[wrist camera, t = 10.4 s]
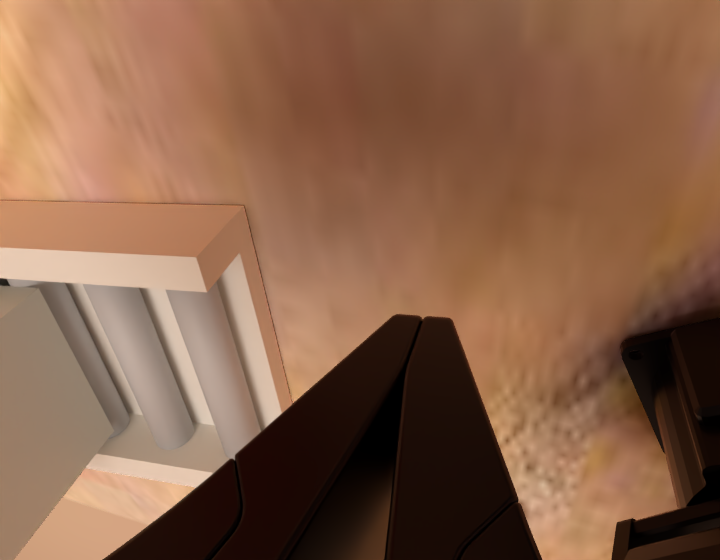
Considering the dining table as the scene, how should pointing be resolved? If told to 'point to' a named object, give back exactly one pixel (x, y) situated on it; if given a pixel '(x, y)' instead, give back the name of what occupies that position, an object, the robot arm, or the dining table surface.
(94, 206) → the roller bed
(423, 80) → the dining table surface
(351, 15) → the dining table surface
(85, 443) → the beige block
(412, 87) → the dining table surface
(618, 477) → the dining table surface
